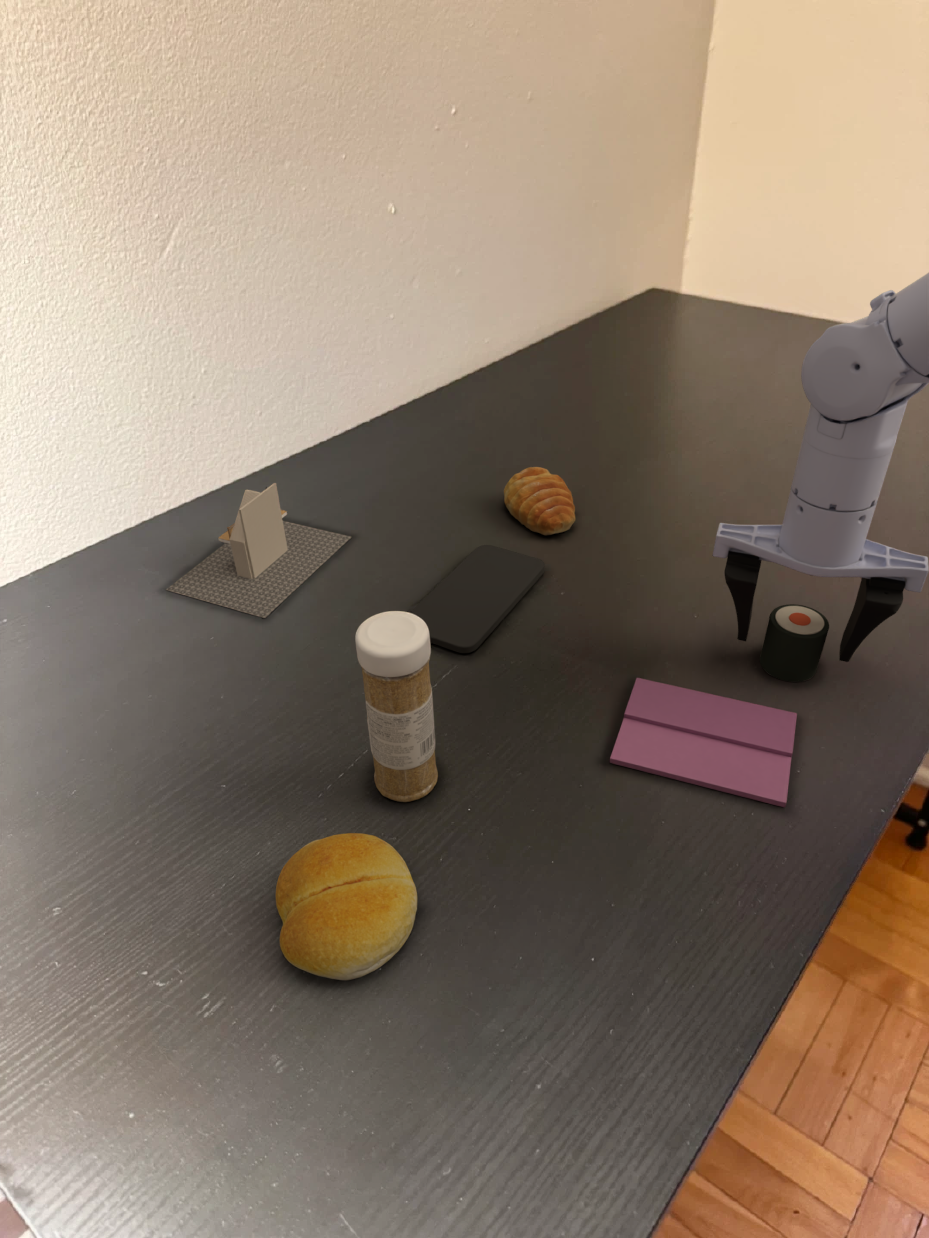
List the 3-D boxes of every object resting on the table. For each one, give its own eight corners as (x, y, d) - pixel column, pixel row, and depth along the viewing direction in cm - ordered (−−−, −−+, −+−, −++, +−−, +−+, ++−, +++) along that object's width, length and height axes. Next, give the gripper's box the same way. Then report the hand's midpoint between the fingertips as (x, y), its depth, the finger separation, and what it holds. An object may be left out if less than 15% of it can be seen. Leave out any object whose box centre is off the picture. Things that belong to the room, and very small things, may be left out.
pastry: (591, 532, 85) (593, 499, 83) (529, 545, 84) (529, 512, 82) (554, 491, 93) (555, 459, 90) (497, 502, 91) (496, 470, 89)
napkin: (794, 719, 63) (797, 711, 63) (785, 807, 57) (787, 798, 56) (636, 684, 67) (637, 675, 66) (609, 762, 60) (610, 754, 60)
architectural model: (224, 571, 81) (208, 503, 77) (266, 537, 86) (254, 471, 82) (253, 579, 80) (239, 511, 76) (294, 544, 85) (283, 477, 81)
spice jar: (402, 747, 62) (388, 599, 54) (451, 774, 60) (444, 624, 52) (360, 786, 59) (338, 635, 51) (410, 816, 57) (395, 663, 49)
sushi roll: (817, 654, 69) (831, 608, 66) (814, 687, 66) (828, 641, 63) (762, 642, 71) (773, 597, 68) (756, 675, 67) (767, 629, 65)
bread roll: (288, 1003, 47) (276, 963, 44) (275, 872, 53) (264, 831, 51) (434, 965, 48) (430, 924, 46) (402, 842, 55) (398, 802, 53)
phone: (395, 624, 72) (481, 541, 83) (396, 632, 73) (481, 549, 83) (470, 650, 69) (549, 561, 80) (470, 658, 70) (549, 568, 80)
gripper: (945, 482, 60) (891, 633, 68) (734, 453, 64) (707, 598, 72) (951, 531, 54) (892, 688, 63) (721, 495, 59) (694, 646, 67)
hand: (792, 643), depth 67 cm, fingers open, 7 cm apart
